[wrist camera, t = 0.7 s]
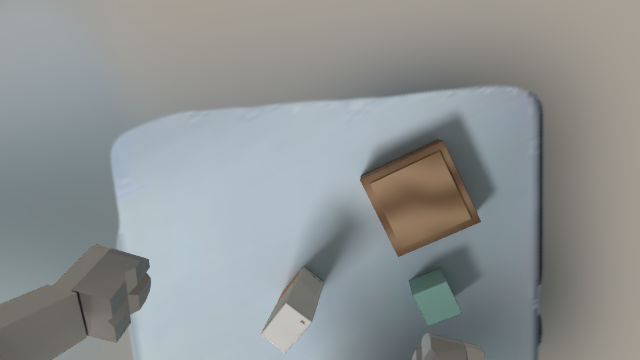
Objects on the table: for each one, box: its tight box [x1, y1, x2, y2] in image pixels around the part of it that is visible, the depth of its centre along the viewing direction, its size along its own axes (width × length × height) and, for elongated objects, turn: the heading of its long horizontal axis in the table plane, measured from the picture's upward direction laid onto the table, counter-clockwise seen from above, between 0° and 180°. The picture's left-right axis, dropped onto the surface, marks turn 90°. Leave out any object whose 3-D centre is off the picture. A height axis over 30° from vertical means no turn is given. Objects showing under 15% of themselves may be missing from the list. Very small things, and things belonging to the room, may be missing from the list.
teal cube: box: [409, 268, 462, 326], centre depth 56 cm, size 5×5×5 cm
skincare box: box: [261, 267, 324, 353], centre depth 55 cm, size 6×4×12 cm
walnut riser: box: [360, 139, 481, 257], centre depth 54 cm, size 12×12×4 cm
